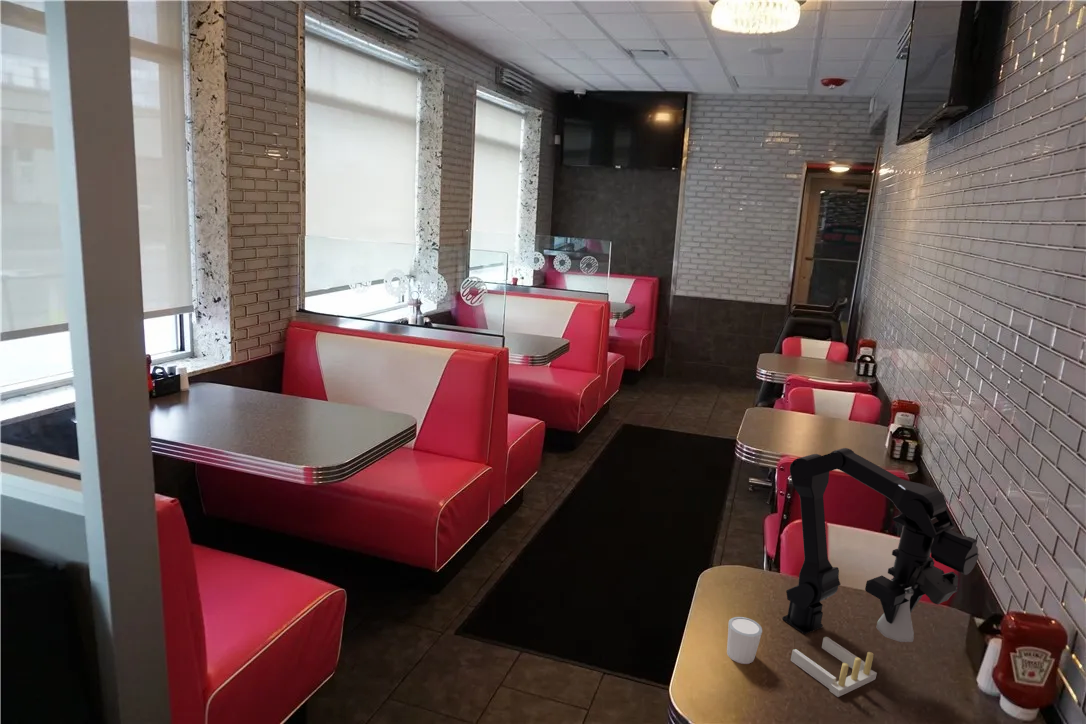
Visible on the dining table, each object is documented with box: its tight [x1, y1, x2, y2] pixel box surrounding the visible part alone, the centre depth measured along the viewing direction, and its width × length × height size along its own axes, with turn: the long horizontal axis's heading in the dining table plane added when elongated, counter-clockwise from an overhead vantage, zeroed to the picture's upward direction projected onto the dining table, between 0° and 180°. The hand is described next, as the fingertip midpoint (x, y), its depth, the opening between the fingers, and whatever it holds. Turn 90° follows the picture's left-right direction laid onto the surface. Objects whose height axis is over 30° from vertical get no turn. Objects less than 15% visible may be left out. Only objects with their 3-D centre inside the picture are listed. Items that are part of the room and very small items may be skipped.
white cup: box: [726, 616, 763, 665], centre depth 152 cm, size 7×7×7 cm
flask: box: [875, 588, 915, 643], centre depth 147 cm, size 7×7×10 cm
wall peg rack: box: [790, 636, 878, 698], centre depth 149 cm, size 12×12×6 cm
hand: (897, 619), depth 148 cm, fingers closed on flask, 5 cm apart
